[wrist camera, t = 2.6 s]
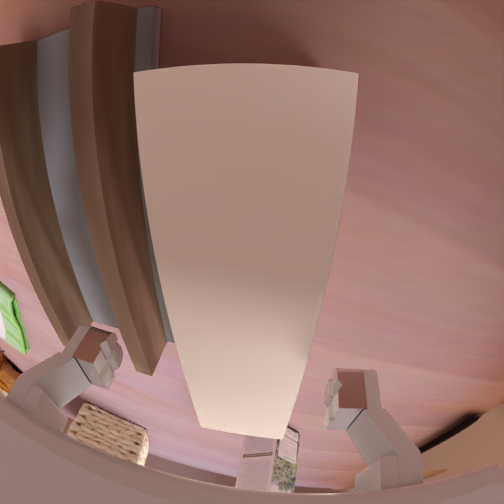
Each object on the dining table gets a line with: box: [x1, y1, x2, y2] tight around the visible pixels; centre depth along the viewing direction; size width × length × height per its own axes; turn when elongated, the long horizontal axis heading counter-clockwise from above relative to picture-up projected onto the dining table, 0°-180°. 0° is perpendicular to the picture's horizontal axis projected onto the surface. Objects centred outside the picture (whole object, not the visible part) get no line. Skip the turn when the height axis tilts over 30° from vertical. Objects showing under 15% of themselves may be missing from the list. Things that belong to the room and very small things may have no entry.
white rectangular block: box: [133, 63, 359, 439], centre depth 14 cm, size 5×18×10 cm, turn 179°
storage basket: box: [67, 402, 149, 466], centre depth 46 cm, size 24×16×15 cm
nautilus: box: [0, 351, 20, 397], centre depth 47 cm, size 8×22×15 cm
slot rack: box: [0, 0, 175, 376], centre depth 18 cm, size 12×26×5 cm, turn 177°
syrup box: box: [235, 426, 300, 493], centre depth 30 cm, size 6×6×14 cm
